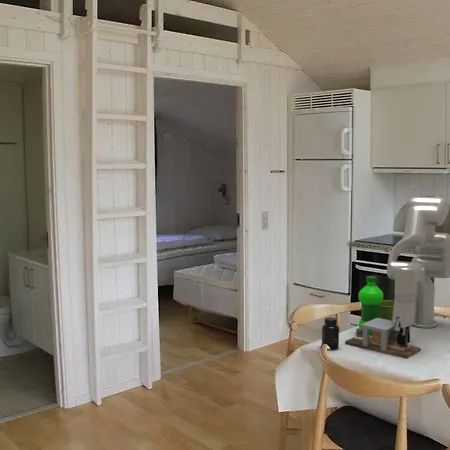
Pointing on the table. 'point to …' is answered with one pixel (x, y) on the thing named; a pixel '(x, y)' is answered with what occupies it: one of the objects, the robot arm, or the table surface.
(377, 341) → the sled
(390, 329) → the tunnel
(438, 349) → the table surface
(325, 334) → the supplement bottle
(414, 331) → the table surface
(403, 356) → the track board
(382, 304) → the plant pot
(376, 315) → the plastic bottle
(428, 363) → the table surface
